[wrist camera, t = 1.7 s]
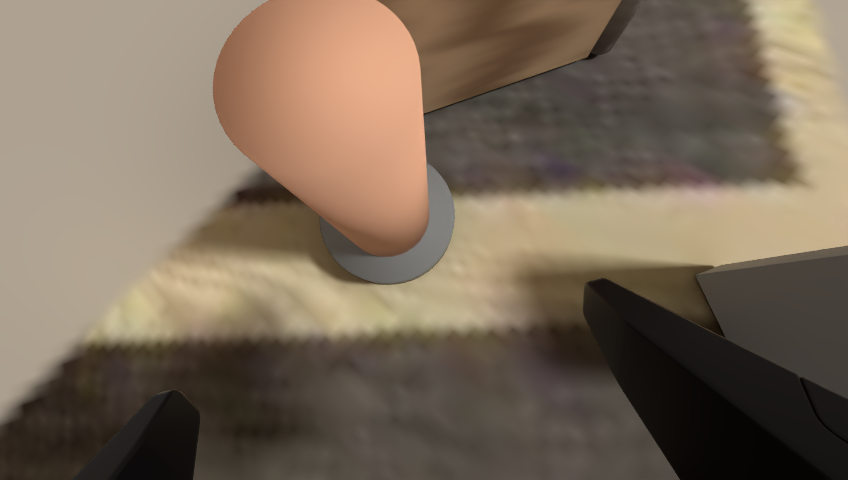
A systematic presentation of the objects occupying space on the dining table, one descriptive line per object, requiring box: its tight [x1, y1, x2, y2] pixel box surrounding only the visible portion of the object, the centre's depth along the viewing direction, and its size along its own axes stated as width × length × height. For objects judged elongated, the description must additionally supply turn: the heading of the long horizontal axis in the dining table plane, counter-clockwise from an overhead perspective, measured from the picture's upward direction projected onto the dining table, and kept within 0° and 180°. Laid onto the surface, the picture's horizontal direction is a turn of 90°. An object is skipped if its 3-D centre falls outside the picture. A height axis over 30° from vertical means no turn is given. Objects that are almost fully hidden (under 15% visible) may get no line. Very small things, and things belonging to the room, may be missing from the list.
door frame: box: [695, 246, 848, 399], centre depth 16 cm, size 24×2×10 cm, turn 20°
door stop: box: [213, 0, 455, 285], centre depth 15 cm, size 7×7×14 cm
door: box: [377, 0, 644, 114], centre depth 18 cm, size 15×3×10 cm, turn 110°
